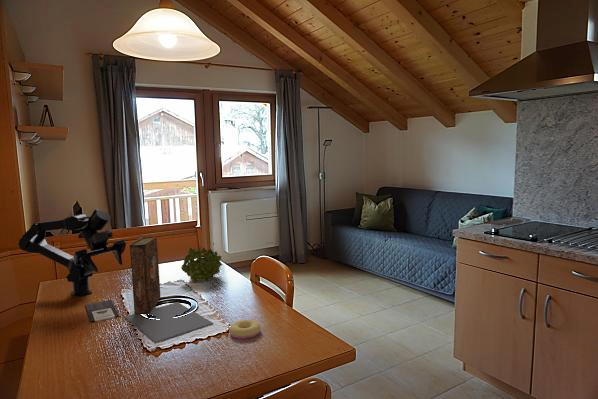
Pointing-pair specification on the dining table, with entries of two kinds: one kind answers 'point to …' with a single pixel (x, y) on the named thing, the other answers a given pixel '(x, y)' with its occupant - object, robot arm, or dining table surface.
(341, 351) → the dining table surface
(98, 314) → the chocolate bar
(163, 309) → the mat
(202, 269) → the green leafy plant
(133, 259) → the book
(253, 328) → the donut
